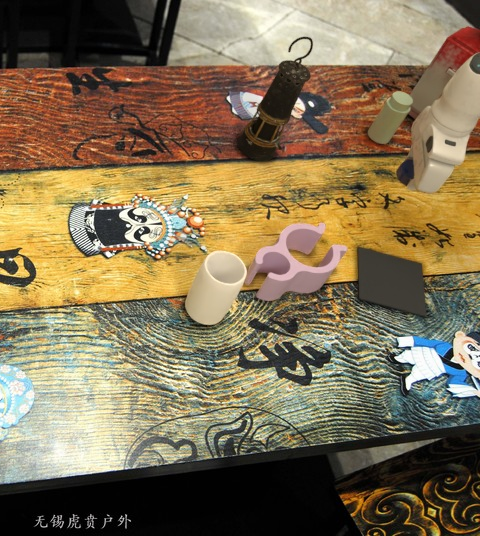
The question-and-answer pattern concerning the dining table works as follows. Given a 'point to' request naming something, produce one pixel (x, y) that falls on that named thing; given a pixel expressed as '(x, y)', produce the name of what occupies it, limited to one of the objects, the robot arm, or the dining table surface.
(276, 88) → the lantern
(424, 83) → the red white cross box
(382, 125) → the jar
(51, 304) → the dining table surface
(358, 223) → the dining table surface
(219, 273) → the cup
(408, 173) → the lid
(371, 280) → the mat
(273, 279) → the clip
